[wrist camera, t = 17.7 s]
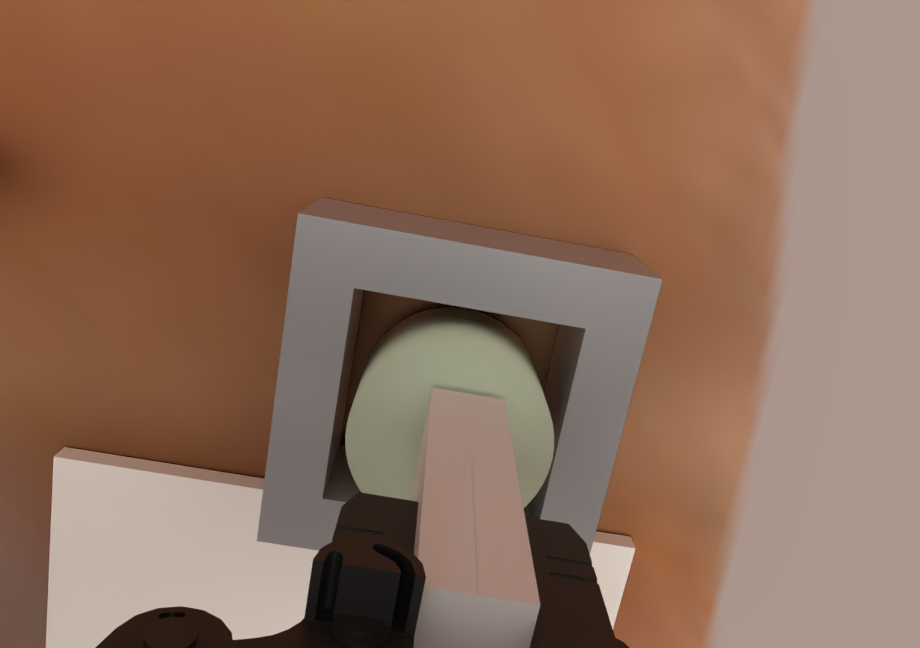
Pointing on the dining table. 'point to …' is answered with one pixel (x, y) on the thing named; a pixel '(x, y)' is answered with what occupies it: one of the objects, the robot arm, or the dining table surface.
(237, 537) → the sheet
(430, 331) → the button
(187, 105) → the dining table surface
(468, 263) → the button housing
